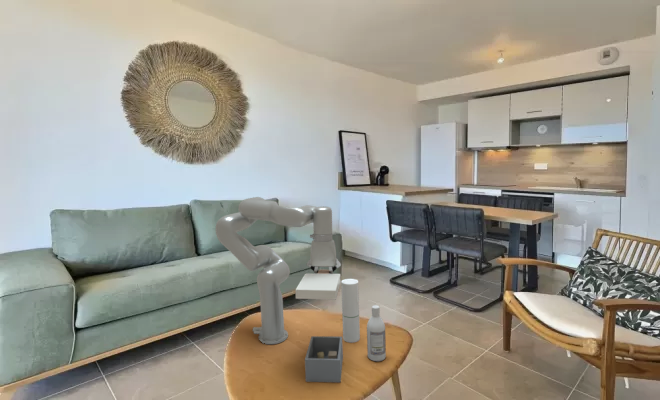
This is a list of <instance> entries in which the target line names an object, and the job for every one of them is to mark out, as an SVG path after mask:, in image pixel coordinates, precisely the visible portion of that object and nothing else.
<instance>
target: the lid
mask: <svg viewBox="0 0 660 400" xmlns="http://www.w3.org/2000/svg"><path fill="white" fill-rule="evenodd" d="M318 270H319V271H318V273H314V272H313V273H311V272H310V273H309V272H307V273H305V274H303V277H302V278H301V280H300V281H299V283H298V285H297V286H296V288H295V299H296V300H297V299H298V300H299V299H300V300H327V301H328V300H329V301H331V300H332V301H333V300H334V301H336V300H337V297H338V292H339V290H340V289H339V288H340V286H341V281H342V280H341V273H333V274H329V269H318Z"/></svg>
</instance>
